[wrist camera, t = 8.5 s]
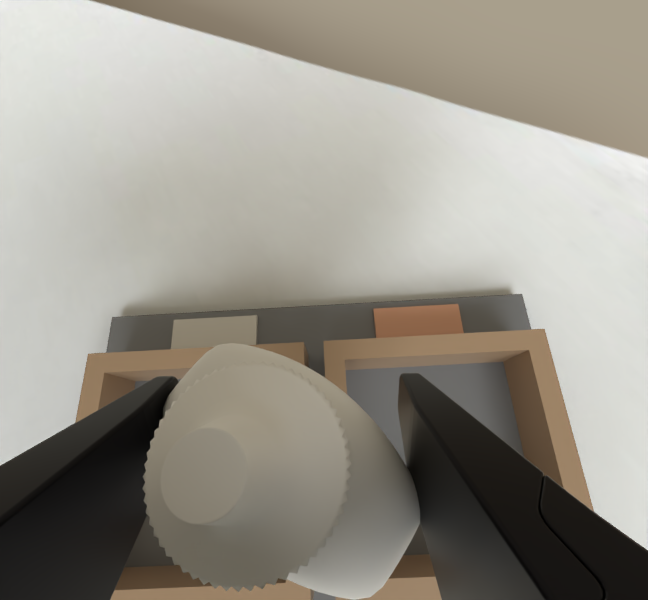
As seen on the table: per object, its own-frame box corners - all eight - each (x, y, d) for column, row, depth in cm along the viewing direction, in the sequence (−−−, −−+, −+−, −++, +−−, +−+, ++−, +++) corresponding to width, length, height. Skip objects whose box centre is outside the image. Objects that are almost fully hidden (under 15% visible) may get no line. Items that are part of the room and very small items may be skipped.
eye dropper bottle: (333, 360, 15) (316, 134, 4) (396, 500, 13) (696, 795, 2) (234, 404, 15) (-90, 283, 4) (285, 556, 13) (-80, 1323, 2)
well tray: (516, 298, 23) (548, 272, 19) (589, 591, 17) (653, 631, 14) (119, 321, 23) (80, 300, 20) (72, 613, 18) (6, 656, 14)
